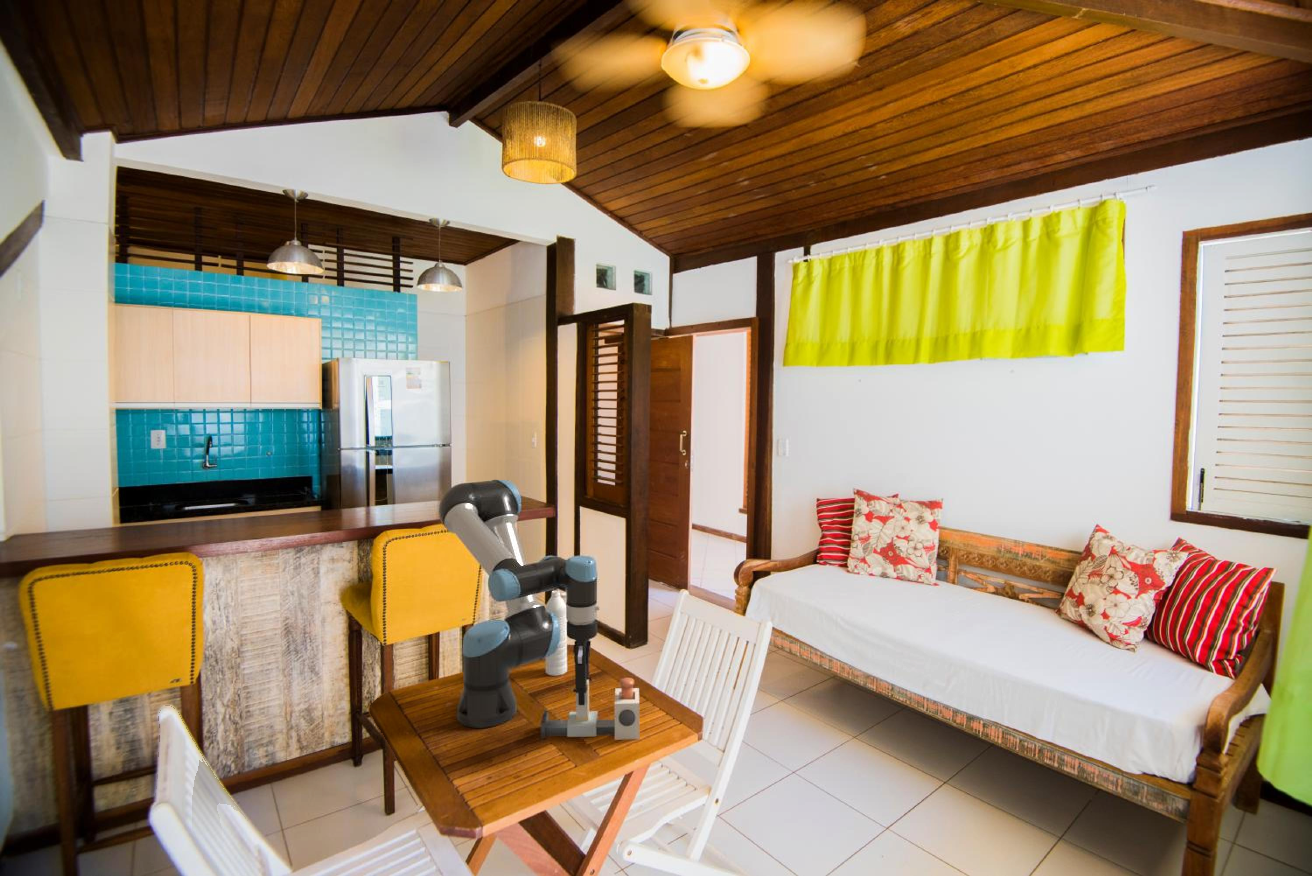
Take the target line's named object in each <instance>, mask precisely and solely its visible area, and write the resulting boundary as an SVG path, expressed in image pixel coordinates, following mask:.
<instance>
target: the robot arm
mask: <svg viewBox="0 0 1312 876" xmlns="http://www.w3.org/2000/svg"><path fill="white" fill-rule="evenodd" d="M439 502H440V503H439V506H438V507H439V508H438V515H439V520H440V521H441V523H442V525H443V526H444V528H446V530H447V531H448V532H449V533H452V534H455V536H456V537H458V539H459V540H460V541H461V543H462V544H463V546H464V547H466V548H465V549H467V550H468V551H469V553H470V554H471V555H472V557H473V558H474V559H475V560H476V561H477V563H478V564H479V565H480V566H481V568H482V569H483V570H484V571H485V573H486V574H487V575H488V578H487V579H488V580H487V587H488V591H489V593H490V596H491V598H492V599H493V600H494V601H495V602H504V603H505V606H506V609H507V610H506V611H507V612H506V615H505V617H504V620H503V619H492V620H484V621H481V622H479V623H477V624H474V625H472V626H471V627H470V628H468V629H467V630H466V632H465V633H464V635H463V640H462V641H463V642H462V652H461V653H462V660H463V661H462V666H463V667H462V668H463V669H462V671H463V689H462V692H461V696H460V698H459V701H458V706H457V709H456V713H457V714H456V716H457V721H458V722H459V723H460V724H462V725H463V726H465V727H469V728H475V729H476V728H477V729H478V728H479V729H483V728H491V727H495V726H498V725H501V724H505V723H507V722H508V721H509V720H511V719H512V718H513V717H514V716H515V715H516V713H517V699H516V696H515V694H514V691H513V688H512V685H511V683H510V670H512V669H515V668H518V667H521V666H525V665H527V664H530V663H533V662H537V661H541V660H543V659H546V657H548V656H551V655H552V654H554V653H555V652H556V650H557V649H558V646H559V642H560V635H561V633H560V625H559V622H558V619H557V618H556V617H555V615H554V614H553V613H550V612H546V609H545V607H546V605H545V604H543V603H540V602H539V600H538V599H537V598H538V597H537V595H536V594H541V593H546V592H549V591H555V590H558V591H561V592H563V593H566V598H565V599H566V602H565V604H566V619H567V624H566V625H567V638H568V639H571V640H574V644H573V650H572V651H573V653H574V657H573V660H574V675H575V676H574V678H575V679H574V681H575V682H574V683H575V688H573V690H572V691H573V693H575V712H576V717H587V716H588V691H587V680H589V682H592V677H589V676H590V656H591V646H592V644H591V643H592V642H591V639H593V638H595V637H596V636H597V635H598V620H597V618H598V611H599V610H600V606H599V605H598V601H597V600H598V569H597V560H596V559H595V558H594V557H593V556H589V555H573V556H571V557H568V558H567V559H565V558H563V557H561V556H556V555H547V556H544V557H542V559H540V560H539V561H538V562H532V563H527V562H526V558H525V555H524V551H523V548H522V547H523V546H522V544H521V540H520V538H519V534H518V531H517V527H516V523H517V521H518V520H519V516H518V515H519V514H520V512H521V510H522V504H521V503H522V497H521V494H520V492H519V490H518V488H517V486H516V485H515V484H514V483H513V482H512V481H509V480H508V479H492V480H487V481H486V480H485V481H476V482H463V483H457V484H456V485H453V486H452V487H450V488H449V489H448V490H447V491H446V492H445V493H444V494H443V496H442V498H441V499H440V501H439Z"/></svg>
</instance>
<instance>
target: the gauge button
mask: <svg viewBox="0 0 1312 876" xmlns="http://www.w3.org/2000/svg"><path fill="white" fill-rule="evenodd" d="M619 685H620V688H621V700H629V699H633V688H634V685H635V679H634V678H632V677H622V678H621V679H620V680H619Z"/></svg>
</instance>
